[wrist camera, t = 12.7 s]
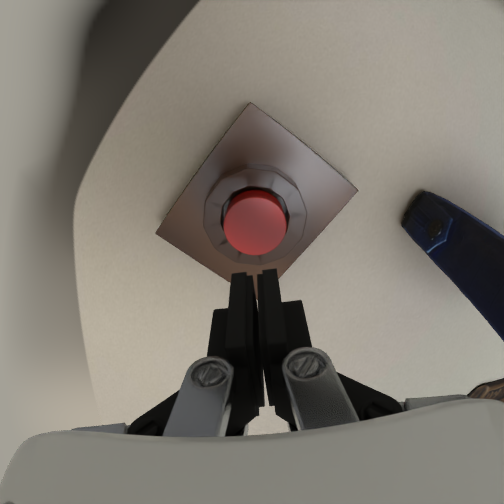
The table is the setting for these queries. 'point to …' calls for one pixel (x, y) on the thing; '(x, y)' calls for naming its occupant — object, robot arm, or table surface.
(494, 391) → the decorative plaque
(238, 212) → the button
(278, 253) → the button box
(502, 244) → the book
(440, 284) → the table surface
